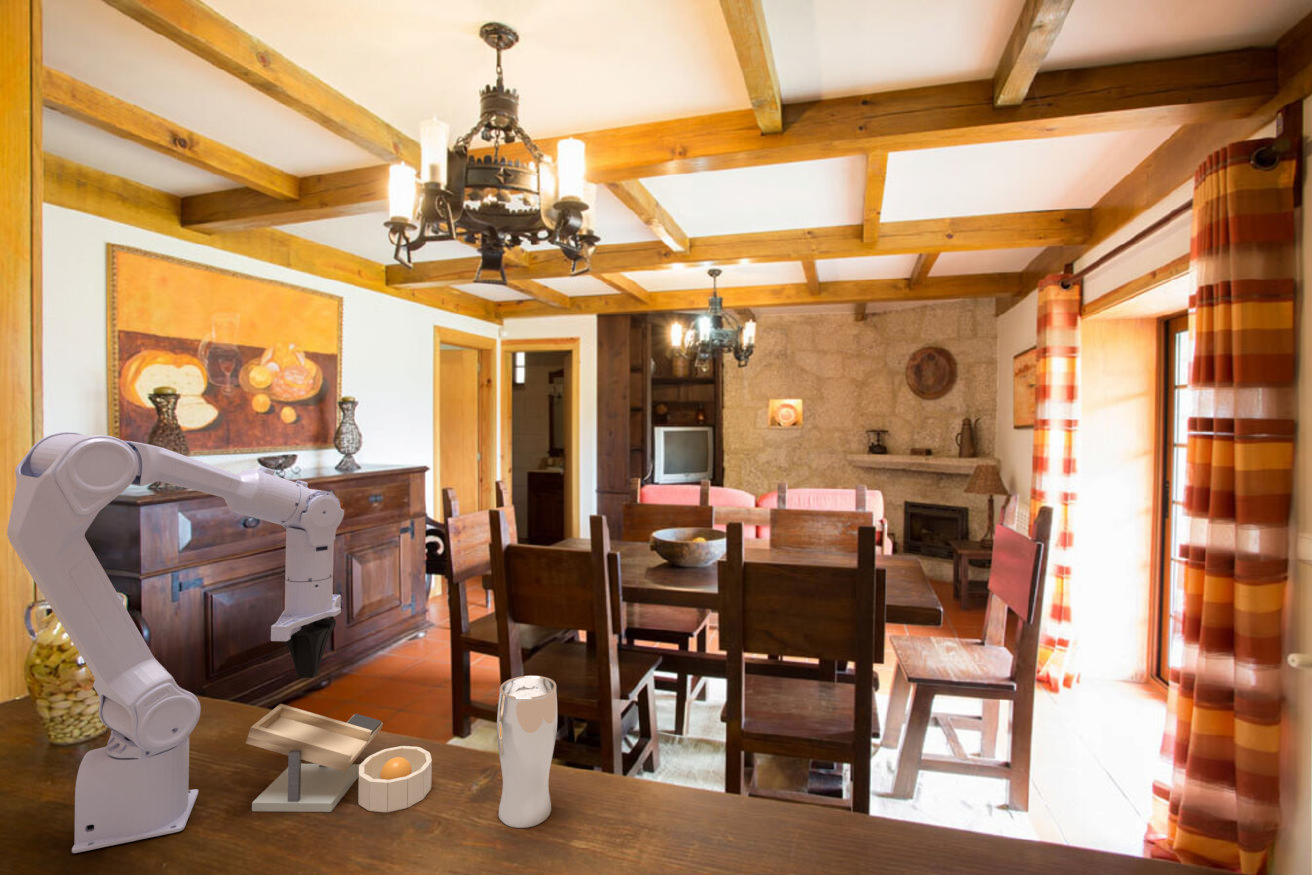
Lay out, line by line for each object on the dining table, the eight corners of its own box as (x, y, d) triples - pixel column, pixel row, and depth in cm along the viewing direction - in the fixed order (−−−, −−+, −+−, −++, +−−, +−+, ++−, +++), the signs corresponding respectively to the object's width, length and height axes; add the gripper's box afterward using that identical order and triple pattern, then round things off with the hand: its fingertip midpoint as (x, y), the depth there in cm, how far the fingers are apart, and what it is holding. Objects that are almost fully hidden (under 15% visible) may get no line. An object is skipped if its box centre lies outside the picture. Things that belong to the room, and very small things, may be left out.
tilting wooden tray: (245, 743, 74) (250, 727, 74) (294, 703, 84) (298, 689, 84) (345, 771, 74) (350, 755, 74) (381, 728, 85) (385, 714, 85)
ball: (376, 778, 75) (401, 795, 75) (396, 749, 77) (420, 765, 77) (371, 781, 77) (395, 797, 78) (391, 752, 80) (414, 768, 80)
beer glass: (548, 832, 71) (552, 700, 70) (487, 829, 71) (490, 697, 71) (559, 795, 78) (562, 675, 77) (503, 793, 78) (506, 673, 78)
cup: (358, 818, 72) (359, 788, 72) (357, 781, 80) (358, 753, 79) (434, 801, 76) (434, 773, 76) (426, 767, 83) (427, 741, 83)
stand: (251, 811, 73) (253, 753, 73) (291, 771, 81) (292, 719, 81) (330, 811, 73) (332, 754, 73) (362, 771, 82) (363, 720, 82)
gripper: (312, 591, 79) (310, 699, 79) (362, 565, 93) (360, 656, 93) (254, 590, 78) (252, 698, 79) (313, 564, 93) (312, 655, 93)
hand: (307, 675), depth 86 cm, fingers closed
